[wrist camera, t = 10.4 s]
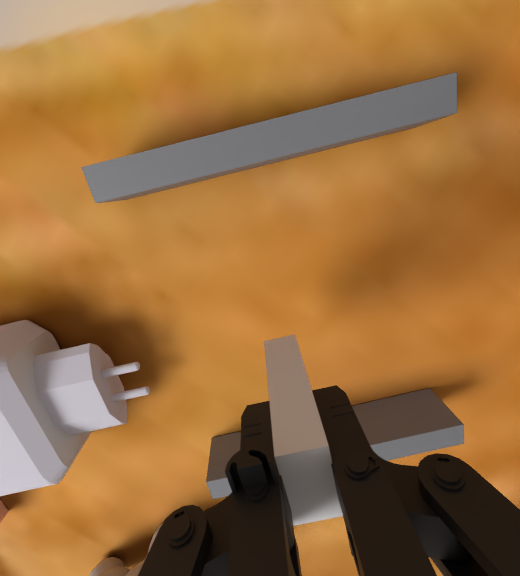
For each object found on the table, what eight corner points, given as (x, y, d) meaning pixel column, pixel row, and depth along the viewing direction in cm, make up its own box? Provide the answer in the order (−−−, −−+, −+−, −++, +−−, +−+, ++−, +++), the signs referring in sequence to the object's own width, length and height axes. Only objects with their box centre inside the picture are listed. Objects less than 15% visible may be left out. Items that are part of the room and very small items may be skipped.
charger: (177, 411, 22) (-25, 456, 22) (130, 291, 19) (-103, 346, 19) (160, 470, 17) (-95, 526, 17) (94, 324, 14) (-212, 396, 14)
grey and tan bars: (410, 74, 15) (455, 43, 12) (431, 415, 22) (464, 455, 19) (-220, 234, 16) (-339, 246, 13) (-11, 515, 23) (-53, 569, 20)
